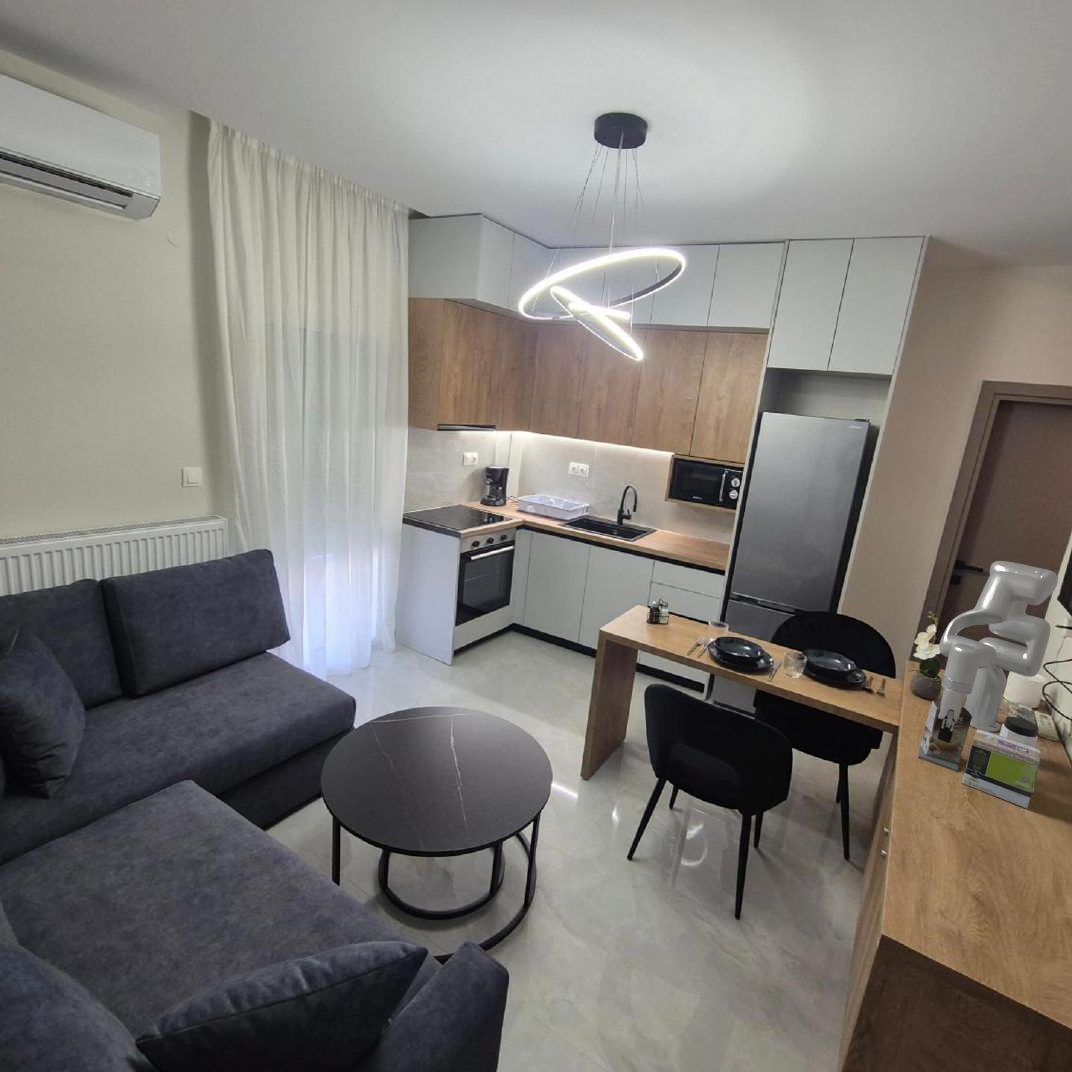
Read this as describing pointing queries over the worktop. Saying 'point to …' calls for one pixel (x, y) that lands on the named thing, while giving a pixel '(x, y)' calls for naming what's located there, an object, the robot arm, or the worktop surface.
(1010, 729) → the jar
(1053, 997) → the worktop surface
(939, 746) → the coffee box
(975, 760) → the tea box
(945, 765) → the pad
